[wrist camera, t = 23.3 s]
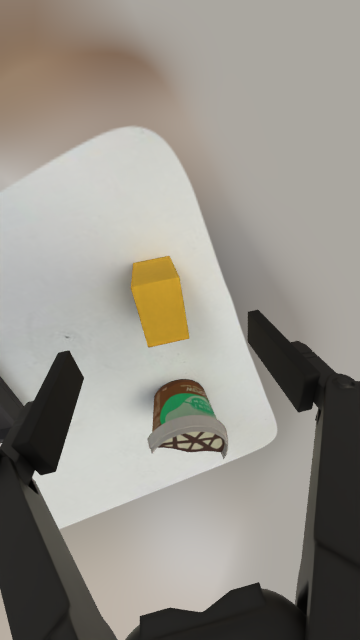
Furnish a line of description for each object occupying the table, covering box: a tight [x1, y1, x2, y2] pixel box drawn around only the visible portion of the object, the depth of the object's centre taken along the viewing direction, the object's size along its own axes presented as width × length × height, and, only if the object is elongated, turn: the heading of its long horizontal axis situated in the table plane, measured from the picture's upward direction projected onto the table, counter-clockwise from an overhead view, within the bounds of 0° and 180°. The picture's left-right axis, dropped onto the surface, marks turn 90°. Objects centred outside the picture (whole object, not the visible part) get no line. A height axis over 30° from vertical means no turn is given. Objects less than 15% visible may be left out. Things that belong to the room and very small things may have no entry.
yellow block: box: [131, 256, 189, 347], centre depth 25 cm, size 7×4×8 cm, turn 9°
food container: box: [148, 379, 228, 459], centre depth 34 cm, size 12×6×10 cm, turn 68°
